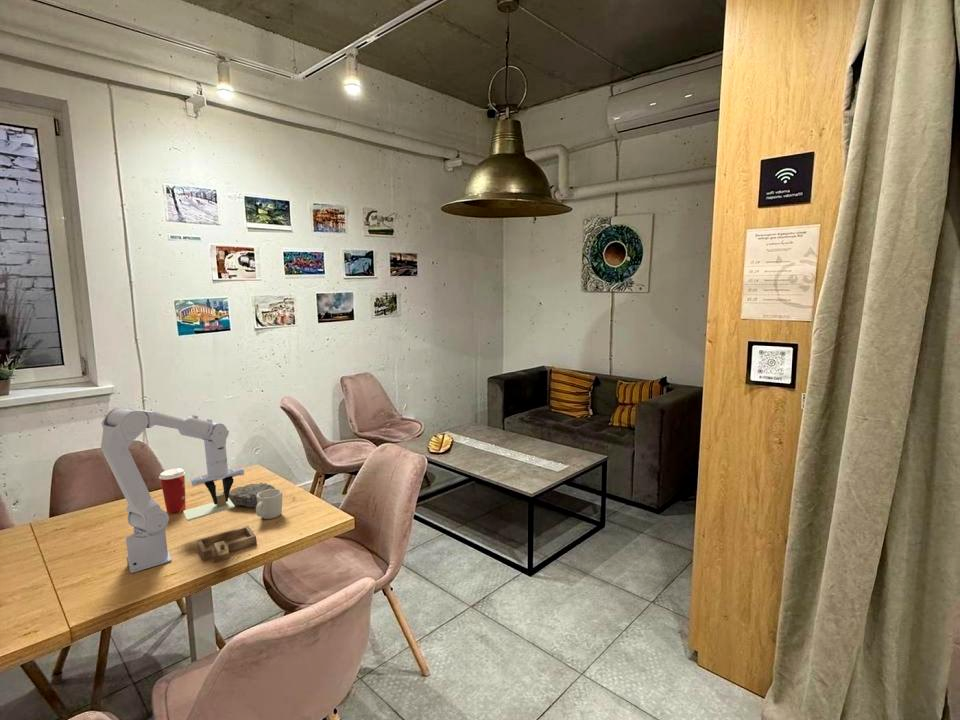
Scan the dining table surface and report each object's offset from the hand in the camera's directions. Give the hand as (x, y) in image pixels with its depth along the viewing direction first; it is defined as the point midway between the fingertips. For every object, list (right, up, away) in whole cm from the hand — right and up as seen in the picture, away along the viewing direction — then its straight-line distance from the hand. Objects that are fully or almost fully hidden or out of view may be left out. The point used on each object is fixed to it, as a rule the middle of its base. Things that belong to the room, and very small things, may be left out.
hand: (220, 502), depth 157 cm
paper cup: (-24, -8, +16) cm, 30 cm away
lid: (-3, -2, -2) cm, 4 cm away
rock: (+1, -7, +22) cm, 23 cm away
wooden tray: (+8, -10, -11) cm, 17 cm away
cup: (+11, -8, +9) cm, 16 cm away
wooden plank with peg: (+10, -8, -19) cm, 23 cm away
